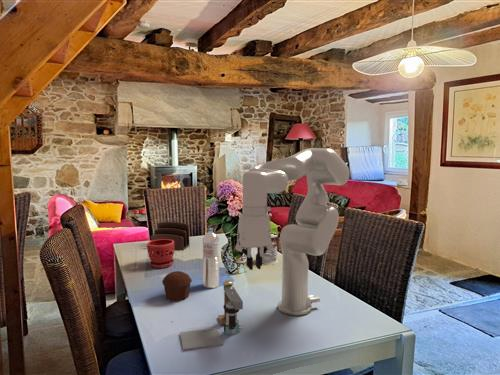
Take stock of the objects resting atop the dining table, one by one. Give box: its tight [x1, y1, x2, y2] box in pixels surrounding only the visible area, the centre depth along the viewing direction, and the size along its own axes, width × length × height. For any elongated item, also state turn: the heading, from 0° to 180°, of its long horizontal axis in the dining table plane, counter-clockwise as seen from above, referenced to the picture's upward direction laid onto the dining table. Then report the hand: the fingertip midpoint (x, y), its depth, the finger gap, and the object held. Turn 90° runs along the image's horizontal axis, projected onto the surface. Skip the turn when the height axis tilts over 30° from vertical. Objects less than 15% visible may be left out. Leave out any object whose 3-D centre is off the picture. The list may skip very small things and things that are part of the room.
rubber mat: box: [179, 327, 224, 352], centre depth 121 cm, size 12×10×1 cm
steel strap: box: [222, 279, 244, 311], centre depth 125 cm, size 3×17×3 cm, turn 16°
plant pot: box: [146, 239, 175, 269], centre depth 190 cm, size 13×13×12 cm
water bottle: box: [202, 227, 220, 289], centre depth 163 cm, size 7×7×25 cm
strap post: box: [217, 291, 240, 327], centre depth 133 cm, size 6×6×10 cm
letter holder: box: [150, 221, 190, 251], centre depth 222 cm, size 10×20×14 cm, turn 78°
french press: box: [262, 213, 280, 265], centre depth 196 cm, size 10×12×25 cm
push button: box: [223, 301, 244, 336], centre depth 125 cm, size 7×5×10 cm
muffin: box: [162, 270, 193, 302], centre depth 152 cm, size 12×11×10 cm
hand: (254, 267), depth 122 cm, fingers closed
